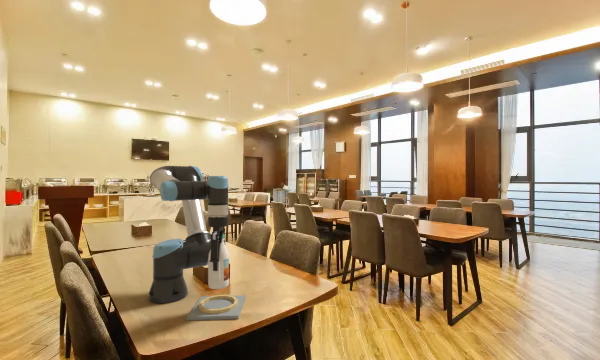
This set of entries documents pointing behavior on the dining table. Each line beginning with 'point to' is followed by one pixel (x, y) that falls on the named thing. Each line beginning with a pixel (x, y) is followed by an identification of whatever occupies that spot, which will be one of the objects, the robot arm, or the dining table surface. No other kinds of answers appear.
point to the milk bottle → (224, 268)
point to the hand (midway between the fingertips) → (218, 275)
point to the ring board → (217, 307)
